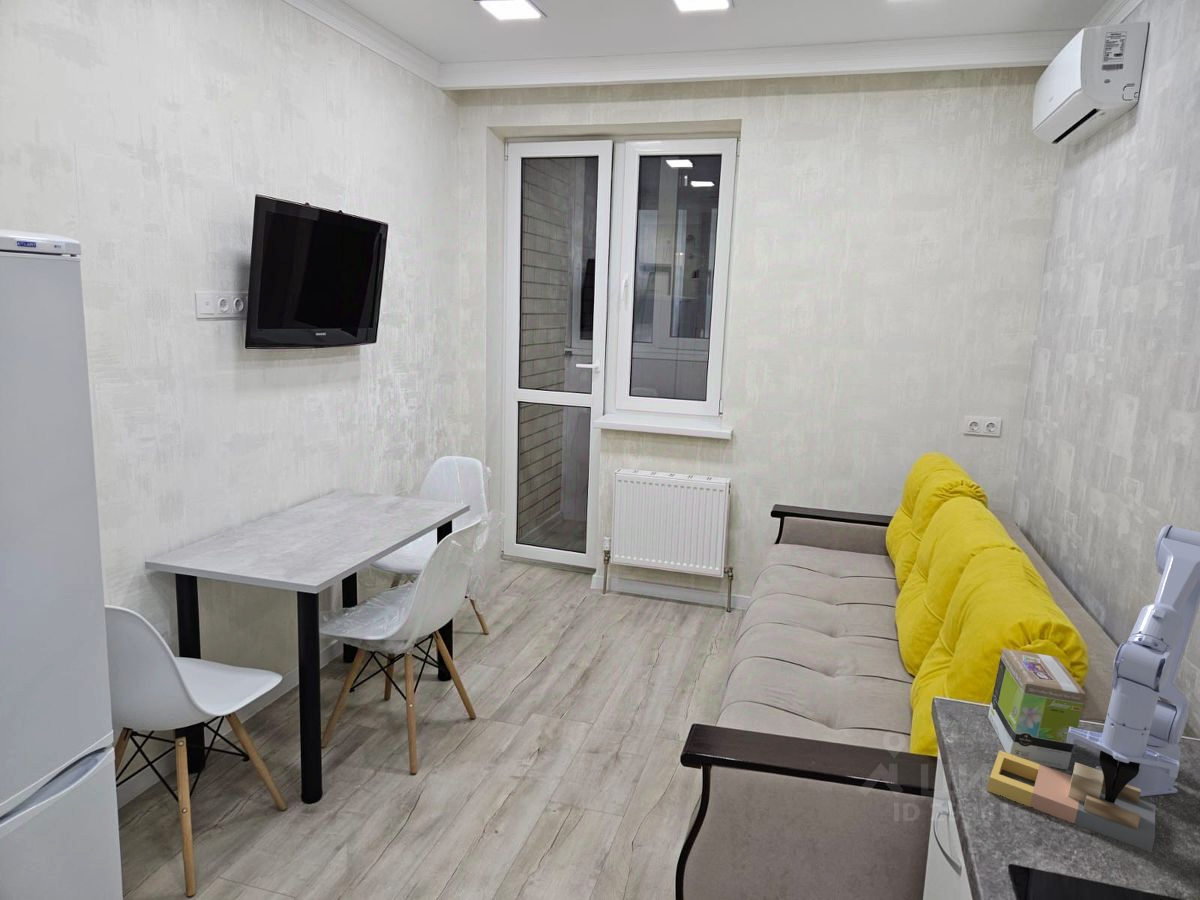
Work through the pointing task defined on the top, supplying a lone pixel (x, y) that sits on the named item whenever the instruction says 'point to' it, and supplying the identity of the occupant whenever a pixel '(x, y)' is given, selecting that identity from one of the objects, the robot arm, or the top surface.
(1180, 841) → the top surface
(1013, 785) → the board
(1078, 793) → the birch block
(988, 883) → the top surface
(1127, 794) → the channel walls
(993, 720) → the tea box
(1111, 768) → the robot arm
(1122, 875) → the top surface
